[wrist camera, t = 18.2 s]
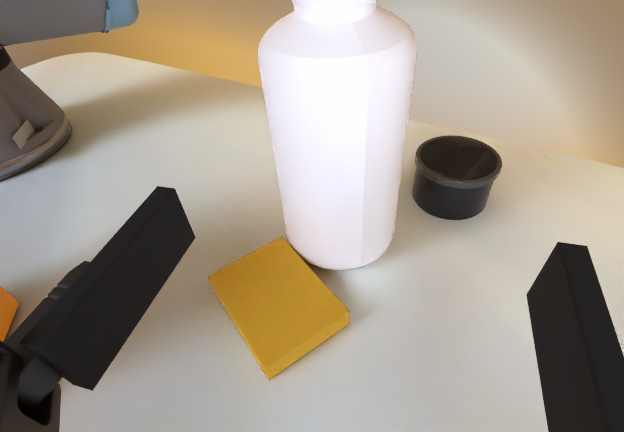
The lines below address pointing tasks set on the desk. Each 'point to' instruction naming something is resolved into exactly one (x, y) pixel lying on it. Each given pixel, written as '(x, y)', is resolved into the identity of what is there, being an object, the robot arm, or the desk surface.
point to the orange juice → (6, 312)
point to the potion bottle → (338, 125)
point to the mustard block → (278, 305)
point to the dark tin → (454, 176)
